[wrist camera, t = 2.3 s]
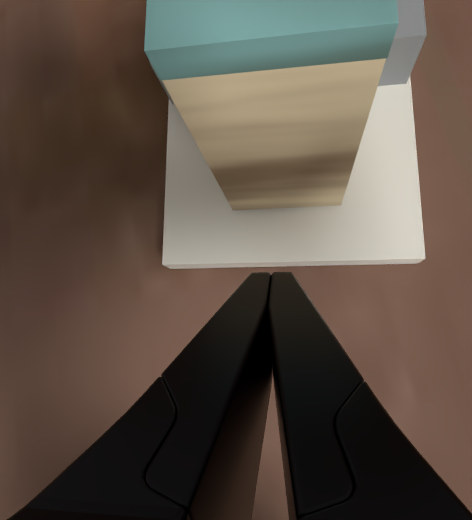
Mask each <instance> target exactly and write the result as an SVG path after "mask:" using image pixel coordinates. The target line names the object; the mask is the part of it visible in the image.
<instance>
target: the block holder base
mask: <svg viewBox="0 0 472 520" xmlns="http://www.w3.org/2000/svg"><path fill="white" fill-rule="evenodd" d="M397 9H398V21H399V23H398V26H397V29H396V33H395V36H394V39H393V42H392V46H391V49H390V52H389V55H388V58H386V61H385V64H384V67H383V71H382V74H381V77H380V80H379V84H378V87H377V90H376V93H375V97H374V100H373V103H372V106H371V110H370V113H369V116H368V120H367V123H366V126H365V129H364V133H363V136H362V139H361V142H360V146H359V149H358V152H357V155H356V159H355V162H354V165H353V169H352V172H351V175H350V178H349V182H348V185H347V188H346V191H345V195H344V198H343V201H342V204H341V205H339V206H316V207H293V208H271V209H248V210H232V208H231V206H230V204H229V202H228V200H227V199H226V197H225V195H224V193H223V191H222V189H221V188H220V186H219V184H218V182H217V180H216V178H215V177H214V175H213V173H212V171H211V169H210V168H209V166H208V164H207V162H206V160H205V158H204V157H203V155H202V153H201V151H200V149H199V147H198V146H197V144H196V142H195V140H194V138H193V137H192V135H191V133H190V131H189V129H188V127H187V126H186V124H185V122H184V120H183V118H182V116H181V115H180V113H179V111H178V109H177V107H176V106H175V104H174V102H173V100H172V98H171V96H170V95H169V93H168V91H167V89H166V87H165V85H164V84H163V82H162V81H160V79H159V77H158V75H157V73H156V72H155V70H154V68H153V66H152V64H151V63H150V65H151V67H152V69H153V71H154V73H155V74H156V76H157V78H158V80H159V82H160V83H161V85H162V87H163V89H164V91H165V92H166V94H167V96H168V98H169V107H168V133H167V158H166V183H165V208H164V234H163V259H162V265H164V266H166V267H168V268H170V269H183V268H230V267H276V266H322V265H368V264H415V263H419V262H421V261H422V260H424V259H425V248H424V236H423V224H422V212H421V200H420V188H419V176H418V164H417V152H416V140H415V128H414V116H413V104H412V92H411V80H410V74H411V71H412V69H413V67H414V64H415V62H416V59H417V57H418V55H419V52H420V50H421V47H422V45H423V43H424V40H425V38H426V35H427V33H426V22H425V12H424V1H423V0H397Z"/></svg>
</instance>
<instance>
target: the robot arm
mask: <svg viewBox="0 0 472 520" xmlns="http://www.w3.org/2000/svg"><path fill="white" fill-rule="evenodd" d="M272 375H273V378H274V389H275V398H276V407H277V416H278V425H279V434H280V443H281V452H282V460H283V469H284V478H285V487H286V496H287V505H288V514H289V520H472V513H471V512H470V511H469V510H468V509H467V507H466V506H465V505H464V504H463V503H462V502H461V500H460V499H459V498H458V497H457V496H456V495H455V493H454V492H453V491H452V490H451V489H450V488H449V487H448V485H447V484H446V483H445V482H444V481H443V480H442V478H441V477H440V476H439V475H438V474H437V473H436V472H435V470H434V469H433V468H432V467H431V466H430V465H429V463H428V462H427V461H426V460H425V459H424V458H423V456H422V455H421V454H420V453H419V452H418V451H417V449H416V448H415V447H414V446H413V445H412V443H411V442H410V441H409V440H408V438H407V437H406V436H405V435H404V434H403V432H402V431H401V430H400V429H399V427H398V426H397V425H396V424H395V422H394V421H393V420H392V418H391V417H390V416H389V414H388V413H387V411H386V410H385V409H384V407H383V406H382V405H381V403H380V402H379V400H378V399H377V398H376V396H375V395H374V393H373V392H372V390H371V389H370V387H369V386H368V384H367V383H366V382H364V379H363V377H362V376H361V374H360V373H359V371H358V370H357V368H356V367H355V365H354V364H353V362H352V361H351V359H350V358H349V356H348V355H347V353H346V352H345V350H344V349H343V347H342V346H341V345H340V343H339V342H338V340H337V339H336V337H335V336H334V334H333V333H332V331H331V330H330V328H329V327H328V325H327V324H326V322H325V321H324V319H323V318H322V316H321V315H320V313H319V312H318V310H317V309H316V307H315V306H314V304H313V303H312V302H311V300H310V299H309V297H308V296H307V294H306V293H305V291H304V290H303V288H302V287H301V285H300V284H299V282H298V281H297V279H296V278H295V276H294V275H293V274H292V273H291V272H274V273H273V274H272V276H271V274H270V273H269V272H260V273H251V274H250V275H249V276H248V277H247V279H246V280H245V281H244V282H243V283H242V284H241V285H240V286H239V288H238V289H237V290H236V291H235V292H234V293H233V294H232V295H231V297H230V298H229V299H228V300H227V301H226V302H225V303H224V304H223V306H222V307H221V308H220V309H219V310H218V311H217V312H216V313H215V315H214V316H213V317H212V318H211V319H210V320H209V321H208V322H207V324H206V325H205V326H204V327H203V328H202V329H201V330H200V331H199V332H198V334H197V335H196V336H195V337H194V338H193V339H192V340H191V341H190V343H189V344H188V345H187V346H186V347H185V348H184V349H183V350H182V352H181V353H180V354H179V355H178V356H177V357H176V358H175V359H174V361H173V362H172V363H171V364H170V365H169V366H168V367H167V368H166V370H165V371H164V372H163V373H162V375H161V376H162V377H158V378H157V379H156V381H155V382H154V383H153V384H152V385H151V386H150V387H149V388H148V390H147V391H146V392H145V393H144V394H143V395H142V396H141V397H140V398H139V399H138V400H137V401H136V402H135V403H134V405H133V406H132V407H131V408H130V409H129V410H128V411H127V412H126V413H125V414H124V415H123V416H122V417H121V418H120V419H119V420H118V421H117V422H116V423H115V424H114V425H113V426H111V427H110V428H109V429H108V430H107V431H106V432H105V433H104V434H103V435H102V436H101V437H100V438H99V439H98V440H97V441H96V442H95V443H94V444H92V445H91V446H90V447H89V448H88V449H87V450H86V451H85V452H84V453H83V454H82V455H80V456H79V457H78V458H77V459H76V460H75V461H74V462H73V463H72V464H71V465H70V466H69V467H67V468H66V469H65V470H64V471H63V472H62V473H61V474H60V475H59V476H58V477H57V478H55V479H54V480H53V481H52V482H51V483H50V484H49V485H48V486H47V487H46V488H45V489H44V490H42V491H41V492H40V493H39V494H38V495H37V496H36V497H35V498H34V499H32V500H31V501H30V502H29V503H28V504H27V505H26V506H24V507H23V508H22V509H21V510H19V511H18V512H17V513H15V514H14V515H13V516H11V517H10V518H9V519H7V520H251V517H252V510H253V504H254V497H255V490H256V484H257V477H258V471H259V464H260V457H261V451H262V444H263V438H264V431H265V424H266V418H267V411H268V405H269V398H270V391H271V384H272Z"/></svg>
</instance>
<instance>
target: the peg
mask: <svg viewBox="0 0 472 520" xmlns="http://www.w3.org/2000/svg"><path fill="white" fill-rule="evenodd" d="M398 23H399V21H398V9H397V0H147V7H146V25H145V44H144V52H145V53H146V55H147V57H148V59H149V61H150V63H151V64H152V66H153V68H154V70H155V72H156V73H157V75H158V77H159V79H160V81H162V82H163V84H164V85H165V87H166V89H167V91H168V93H169V95H170V96H171V98H172V100H173V102H174V104H175V106H176V107H177V109H178V111H179V113H180V115H181V116H182V118H183V120H184V122H185V124H186V126H187V127H188V129H189V131H190V133H191V135H192V137H193V138H194V140H195V142H196V144H197V146H198V147H199V149H200V151H201V153H202V155H203V157H204V158H205V160H206V162H207V164H208V166H209V168H210V169H211V171H212V173H213V175H214V177H215V178H216V180H217V182H218V184H219V186H220V188H221V189H222V191H223V193H224V195H225V197H226V199H227V200H228V202H229V204H230V206H231V208H232V210H248V209H271V208H293V207H316V206H339V205H341V204H342V201H343V198H344V195H345V191H346V188H347V185H348V182H349V178H350V175H351V172H352V169H353V165H354V162H355V159H356V155H357V152H358V149H359V146H360V142H361V139H362V136H363V133H364V129H365V126H366V123H367V120H368V116H369V113H370V110H371V106H372V103H373V100H374V97H375V93H376V90H377V87H378V84H379V80H380V77H381V74H382V71H383V67H384V64H385V61H386V58H388V55H389V52H390V49H391V46H392V42H393V39H394V36H395V33H396V29H397V26H398Z"/></svg>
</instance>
